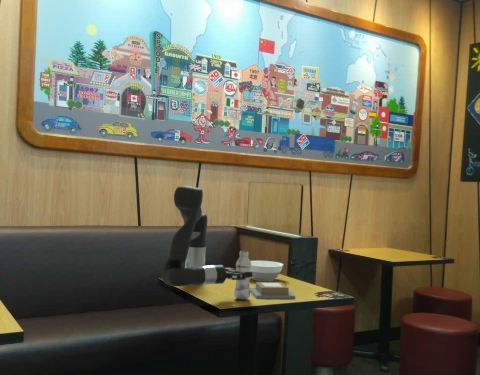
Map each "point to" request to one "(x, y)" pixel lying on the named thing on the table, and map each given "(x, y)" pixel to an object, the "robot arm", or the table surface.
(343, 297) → the table surface
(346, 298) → the table surface
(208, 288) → the table surface
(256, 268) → the bowl
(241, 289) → the plastic bottle
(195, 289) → the table surface
